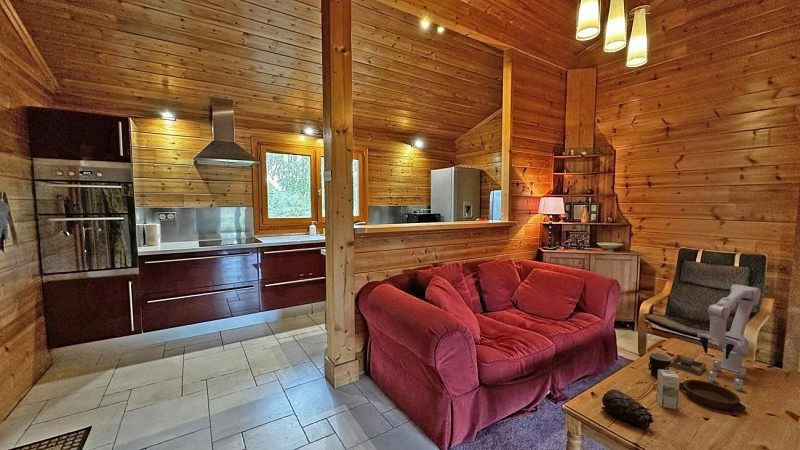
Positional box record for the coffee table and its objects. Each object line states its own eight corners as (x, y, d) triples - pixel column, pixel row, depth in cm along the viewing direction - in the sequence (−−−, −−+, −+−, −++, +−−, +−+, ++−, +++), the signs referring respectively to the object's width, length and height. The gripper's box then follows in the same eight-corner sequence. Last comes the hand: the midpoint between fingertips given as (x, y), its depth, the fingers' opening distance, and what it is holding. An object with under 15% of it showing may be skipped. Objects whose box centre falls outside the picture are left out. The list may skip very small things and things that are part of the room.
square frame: (676, 359, 181) (676, 355, 181) (705, 368, 171) (705, 364, 171) (669, 366, 174) (669, 361, 174) (699, 375, 164) (699, 371, 164)
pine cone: (650, 436, 123) (651, 410, 122) (598, 413, 136) (598, 390, 136) (657, 424, 129) (659, 399, 129) (607, 403, 143) (607, 381, 142)
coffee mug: (662, 371, 168) (663, 353, 168) (674, 381, 160) (675, 361, 159) (638, 370, 170) (638, 352, 169) (649, 379, 161) (649, 360, 160)
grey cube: (682, 364, 175) (683, 355, 175) (693, 368, 172) (694, 359, 171) (680, 367, 173) (680, 358, 172) (691, 370, 169) (691, 361, 169)
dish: (740, 422, 130) (741, 410, 130) (671, 395, 148) (671, 385, 148) (749, 406, 140) (750, 394, 140) (683, 383, 158) (683, 373, 158)
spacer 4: (734, 387, 154) (734, 377, 154) (743, 390, 151) (744, 379, 151) (732, 389, 152) (733, 379, 152) (742, 392, 150) (742, 381, 149)
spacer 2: (713, 368, 171) (713, 359, 171) (721, 371, 169) (721, 361, 168) (712, 370, 169) (712, 361, 169) (720, 372, 167) (720, 363, 166)
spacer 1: (708, 379, 161) (709, 369, 161) (716, 381, 159) (717, 371, 158) (706, 381, 159) (707, 371, 159) (715, 384, 157) (715, 373, 157)
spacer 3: (737, 376, 164) (738, 366, 163) (746, 378, 161) (747, 368, 161) (736, 378, 162) (737, 368, 162) (745, 380, 160) (746, 370, 159)
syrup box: (671, 402, 143) (673, 370, 142) (678, 410, 137) (679, 377, 136) (656, 400, 145) (657, 368, 144) (661, 408, 139) (663, 375, 138)
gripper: (696, 326, 168) (694, 352, 168) (736, 335, 156) (734, 363, 157) (700, 323, 172) (699, 348, 173) (739, 332, 160) (738, 359, 161)
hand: (716, 355), depth 165 cm, fingers open, 7 cm apart
